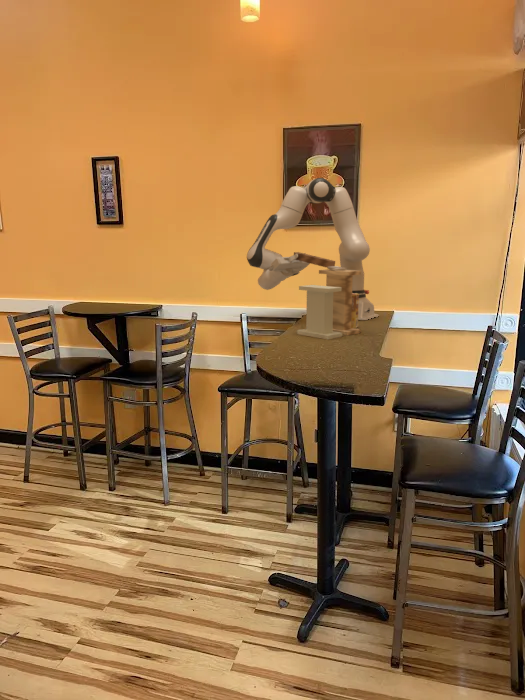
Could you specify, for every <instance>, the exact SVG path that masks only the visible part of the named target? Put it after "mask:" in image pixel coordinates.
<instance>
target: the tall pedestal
mask: <svg viewBox="0 0 525 700" xmlns="http://www.w3.org/2000/svg"><path fill="white" fill-rule="evenodd" d="M319 274H321V275H326V277H325V278H326V283H325V284H326V285H325V286H331V287H342V291H339V292H333V331H334V332H340V333H342V336H351V335H356V334H361V331H362V330H361V328H351V316H352V282H353V275H361V271H354V270H342V271H335V270H331V269H319V270H318V275H319Z"/></svg>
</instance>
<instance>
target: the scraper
mask: <svg viewBox="0 0 525 700" xmlns="http://www.w3.org/2000/svg"><path fill="white" fill-rule="evenodd" d="M295 254H299V255H300V257H299V258H298V259H295V260H299V261H303V262H307V263H310V264H311V265H314V266H319V267H323V268H326V270H328V269H331V270H335V271H342V270H346V268H343V267H341V266H338V265H336V260H333V259H329V258H325V257H320V256H317V255H313V254H308V253H306V254H304V253H303V252H301V251H300V252H299V251H295V252H293V255H295Z"/></svg>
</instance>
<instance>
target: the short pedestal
mask: <svg viewBox="0 0 525 700" xmlns="http://www.w3.org/2000/svg"><path fill="white" fill-rule="evenodd" d="M298 290H300V291H306V317H305V319H306V321H305V322H306V324H305V325H306V328H303V329H302V328H301V329H298V330H296V334H297V335H301V336H305V337H306V336H307V337H312V338H316V339H317V338H318V339H324V340H332V339H337V338H341V337H343V335H342V333H340V332H334V331H333V292H339V291H342V287H331V286H326V285H316V284H309V285H308V284H307V285H299V286H298Z"/></svg>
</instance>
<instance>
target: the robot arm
mask: <svg viewBox="0 0 525 700" xmlns="http://www.w3.org/2000/svg"><path fill="white" fill-rule="evenodd" d="M322 203H325V204H326V206H327V207H328V208H329V212H330V216H331V219H332V223H333V227H334V229H335V232H336V233H337V235H338V238H339V240H340V241H341V242H340V244H339V245H338V253H339V262H340V263H339V264H340V267H343V268H346V270H354V271H361V275H353V282H352V293H357V294H359V306H358V321H367V320H368V319H369V320H371V318H372V319H375V318H374V317H376V318H379V317H380V314H378V313H375V304H374V303H372V302H371V301H370V300H369V299H368V298H367V296H366V295H369V294H370V290H368V289H365V271H364V267H363V260H366V259H367V257H369V254H370V251H371V247H370V245H369V243H368V241H367V240H366V237H365V235H364V233H363V230H362V229H361V227H360V226H361V225H360V224H359V221H358V218H357V214H356V211H355V208H354V204H353V202H352V199H351V197H350V194H349V192H348V190H347V189H346V188H345V187H343V186H334V185H333V184H332V183H331V182H330V181H329V180H328V179H326V178H324V177H317V178H314V179H312V180H310V181H309V182H308V183H307V184H306V185H305V186H303V187H302V186H298V185H295V186H293V185H292V186H291V187H290V188H289V189H288V191H287V192H286V195H285V196H284V198H283V200H282V203H281V205H280V207H279V209H278V211H276V213H275V214H272V215H270V217H269V218H268V219H266V222H265V223H264V225H263V227H262V229H261V231H260V233H259V234H258V236H257V238H256V239H255V241H254V243H253V244H252V245H251V247H249V250H248V252H247V254H246V260H247V263H248V264H249V266H251V267H253V268H257V269H261V270H263V271H262V274H261V275H260V276H259V277H258V279H257V284H258V286H259V287H260V288H261V289H264V290H266V291H269V290H272V289H274V288H275V287H277V286H278V285H280V283H281V282H284V281H285V280H286V279H288V278H289V279H290V277H293V276H296V275H299V274H300V273H301V272H302V271H303V270H304V269H306V268H307V267H308V266H309V265H310V264H311V263H307V262H303V261H299V260H295V259H298V258H299V257H300V255H299V254H295V255H294V254H293V255H291V256H283V255H282V254H281V253H278V252H276V251H274V250H270V249H267V248H266V245H267V244H268V242H269V240H270V239H271V237H272V235H273V234H274V233H275V232H276V231H278V230H285V229H286V230H289V229H292V228H295V227H296V226H298V225H299V223H300V221H301V219H302V217H303V214H304V211H305V209H306V207H307V206H308V204H322ZM304 254H307V253H306V252H305V253H304ZM378 316H379V317H378Z"/></svg>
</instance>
